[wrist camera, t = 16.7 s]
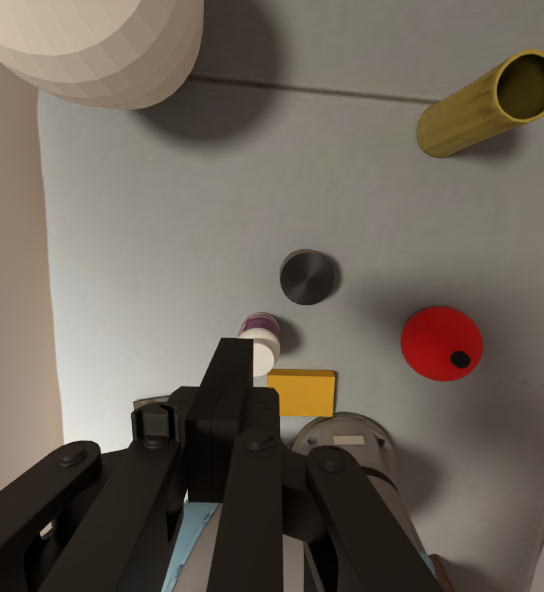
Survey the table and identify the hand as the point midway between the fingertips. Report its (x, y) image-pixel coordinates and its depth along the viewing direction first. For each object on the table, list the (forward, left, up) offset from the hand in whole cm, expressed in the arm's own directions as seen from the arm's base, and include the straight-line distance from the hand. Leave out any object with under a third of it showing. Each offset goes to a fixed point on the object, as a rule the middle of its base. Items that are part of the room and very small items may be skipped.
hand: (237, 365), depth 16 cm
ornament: (-8, -22, -30) cm, 38 cm away
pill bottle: (-8, 0, -30) cm, 31 cm away
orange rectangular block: (-17, -5, -29) cm, 34 cm away
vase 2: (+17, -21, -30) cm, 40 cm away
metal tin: (-1, -5, -29) cm, 30 cm away
